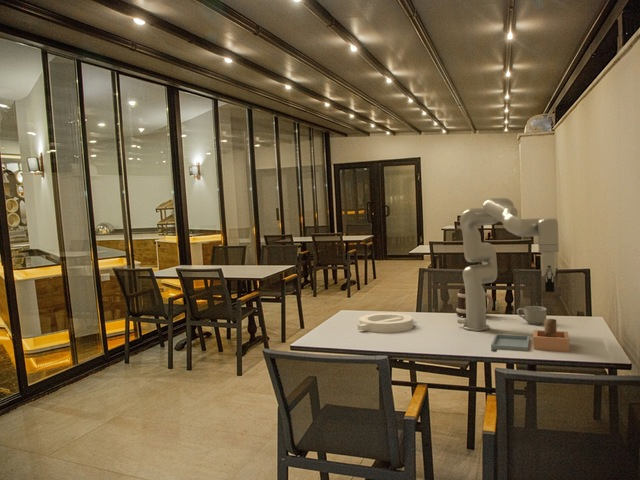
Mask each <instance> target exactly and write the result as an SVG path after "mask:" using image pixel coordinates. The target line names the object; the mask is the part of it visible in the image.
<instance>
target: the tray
mask: <svg viewBox="0 0 640 480" xmlns="http://www.w3.org/2000/svg"><path fill="white" fill-rule="evenodd" d="M529 345H530V335H517V334H499V333H497V334H496V333H495V334H494V337H493V340H492V342H491V345H490V350H491V351H490V352H498V350H504V351H508V350H509V351H522V352H523V351H524V352H528V351H529Z"/></svg>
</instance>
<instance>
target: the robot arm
mask: <svg viewBox="0 0 640 480" xmlns="http://www.w3.org/2000/svg"><path fill="white" fill-rule="evenodd" d="M518 213H519V212H518V210H517V208H516V207H515V206H514V203H513V201H512V200H511V199H509V198H506V197H499V198H498V197H496V198H495V197H493V198H489V199H487V200H485V201H484V202H483V203H482V207H473V208H469V209H466V210H464V211H463V212H462V213H461V216H460V218H459V219H460V220H459V223H460V230H461V234H462V241H463V242H462V243H463V244H462V245H463V255H464V259H465V261H466V262H468V263H481V264H473V265H469V266H466V267H465V268H464V269H463V271H462V279H463V285H464V288H465V297H466V318H464V319H461V318H460V319H457V324H459V325H460V324H461V325H463V329H464V330H467V331H475V332H477V331H478V332H481V331H482V332H483V331H484V332H485V331H488V330H490V328H491V326H490V325H489V324H487V312H486V308H487V303H486V302H487V301H486V298H487V297H486V296H485V293H486V290H485V289H484V287H483V285H482V284H490V283H491V284H492V283H494V282H495V281H496V280H497V278H498V261H497V253H496V248H495V247H494V245H493V244H492V243H490V242H482V240H481V239H482V236H481V233H480V231H479V229H478V227H477V226H491V225H495V224H497V223H502V226H503V227H504V229H505V230H506V231H507V232H509V233H511V234H512V235H515V236H516V237H520V238H527V237H528V238H529V237H537V239H538V240H537V241H538V242H537V243H538V253H540V254H541V255H540V256H541V257H540V259H541V261H540V262H541V264H540V266H541V276H542V277H544V276H545V279H544V281H545V282H544V283H545V285H544V287H545V288H544V289H545V290H544V291H545V292H546V293H554V292H555V280H554V277H556V270H557V269H556V268H557V266H556V265H557V260H556V259H557V258H556V253H559V252H560V247H559V246H560V245H559V241H560V240H559V222H558V219H556V218H520V217H519V215H518Z"/></svg>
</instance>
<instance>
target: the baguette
mask: <svg viewBox="0 0 640 480" xmlns="http://www.w3.org/2000/svg"><path fill="white" fill-rule="evenodd" d="M544 331H545V337H557V331H558V330H557V319H554V318H546V319H545V322H544Z"/></svg>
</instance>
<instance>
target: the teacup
mask: <svg viewBox="0 0 640 480" xmlns="http://www.w3.org/2000/svg"><path fill="white" fill-rule="evenodd" d="M520 311H522V313H523V315H522V314H520ZM516 314H517V315H518V316H519V317H520V318H522V320H525V322H526V323H527V324H531V325H536V324H538V325H542V324H544V323H545V319H547V308H546V307H544V306H539V305H528V306H524V307H523V308H522V307H518V309H517V310H516Z"/></svg>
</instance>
